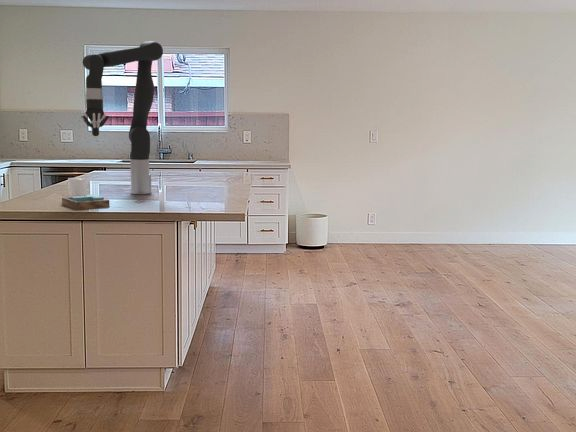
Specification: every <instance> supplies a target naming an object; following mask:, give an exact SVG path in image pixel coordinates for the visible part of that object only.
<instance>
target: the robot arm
mask: <svg viewBox="0 0 576 432" xmlns="http://www.w3.org/2000/svg"><path fill="white" fill-rule="evenodd" d="M163 54H164V49H163V46H162V44H161V43H159V42H157V41H153V40H150V41H143V42H142V43H140V45H139V46H138V47H137V46H136V47H131V48H121V49H114V50H109V51H105V52H102V53H101V52H100V53H93V54H86V55H85V56H84V57H83V59H82V65H83V67H84V68H85V69H87V70H88V71H89V72H88V75H87V76H86V77H85V105H86V106H85V108H86V109H85V113H84V114H83V115H81V116H80V118H81V119H82V120H83V122H84V123H85V125H86V126H87V127H88V128H89V127H90V128H91V134H92V136H93V137H98V136H99V135H100V128H101V127H103V126H104V125H105V124H106V123H107V121H108V119H109V118H110V117H109V116H108V115H106V114H105V111H104V95H103V93H104V92H103V81H102V78H103V75H104V68H110V67H116V66H122V65H125V64H129V63H130V64H131V63H134V62H137V73H136V81H135V87H134V88H135V89H134V95H133V107H132V108H133V109H132V118H131V123H130V127H129V132H128V139H129V141H130V142H131V144H130V146H131V148H130V149H131V150H130V154H129V155H130V156H129V158H130V160H129V161H130V162H129V163H130V194H133V195H147V194H152V174H151V173H150V154H151V136H150V135H151V134H150V132H149V130H148V129H147V127H148V126H147V124H148V116H149V114H150V112H151V109H152V105H153V102H154V96H155V85H154V81H153V80H154V79H153V76H152V67H153V62H154V61H158V60H160V59H161V58H162V56H163Z"/></svg>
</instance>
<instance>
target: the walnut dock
mask: <svg viewBox="0 0 576 432" xmlns="http://www.w3.org/2000/svg"><path fill="white" fill-rule="evenodd" d="M61 204H62V206H65V207H69V208H71V209H74V210H87V209H88V210H89V209H102V208H110V206H111V205H110V199H104V200H97V201H84V202H77V201H74V200H72V199H71V197H70V196H66V197H65V196H64V197H61Z"/></svg>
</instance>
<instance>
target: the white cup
mask: <svg viewBox="0 0 576 432" xmlns="http://www.w3.org/2000/svg"><path fill="white" fill-rule="evenodd" d="M67 185H68V194H69V197H78V196H84V195H87V194H86V193H87V178H85V177H68V178H67Z"/></svg>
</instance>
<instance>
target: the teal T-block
mask: <svg viewBox="0 0 576 432" xmlns="http://www.w3.org/2000/svg"><path fill="white" fill-rule="evenodd" d="M71 199H72V200H74V201H77V202H84V201H97V200H105V198H104V197H103V196H100V195H96V194H85V195H84V196H78V197H71Z"/></svg>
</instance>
